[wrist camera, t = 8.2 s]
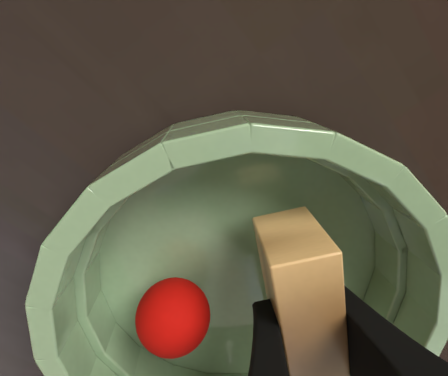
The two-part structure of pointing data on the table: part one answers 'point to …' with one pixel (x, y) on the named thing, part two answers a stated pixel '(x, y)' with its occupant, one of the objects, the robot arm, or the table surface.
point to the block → (305, 291)
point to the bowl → (229, 242)
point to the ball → (172, 318)
